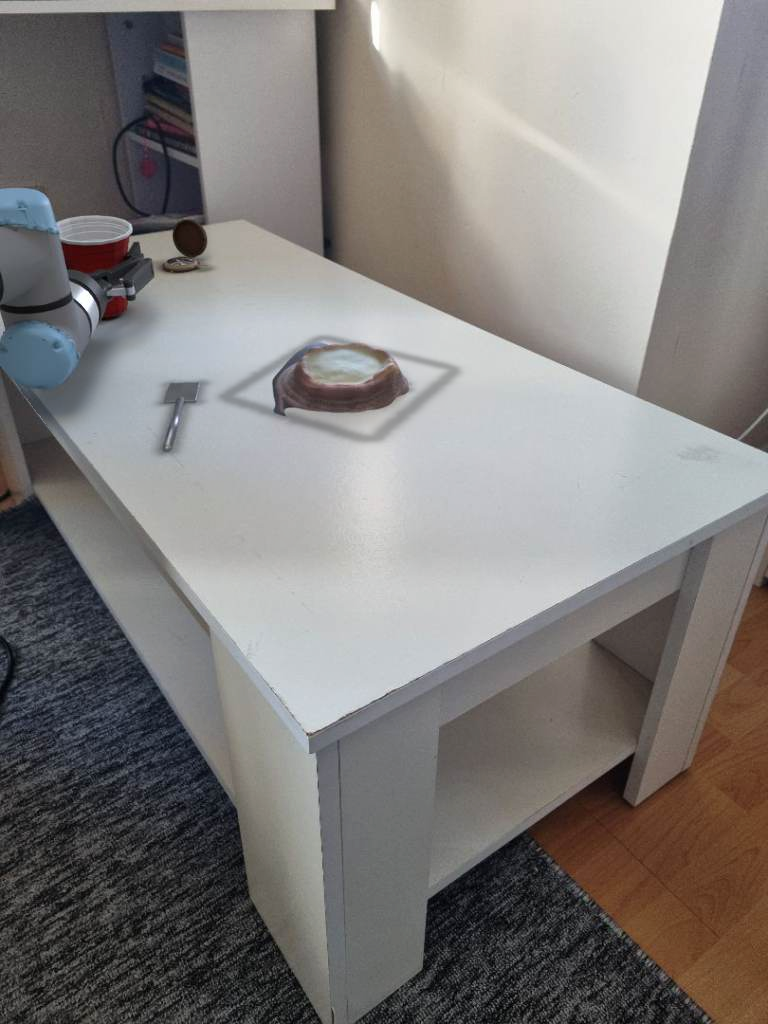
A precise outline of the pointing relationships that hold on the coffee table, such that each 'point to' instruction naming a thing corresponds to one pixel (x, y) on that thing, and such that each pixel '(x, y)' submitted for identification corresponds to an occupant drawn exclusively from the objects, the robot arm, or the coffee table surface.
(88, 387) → the coffee table surface
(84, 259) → the plastic cup
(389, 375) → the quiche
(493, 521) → the coffee table surface
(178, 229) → the compass
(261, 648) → the coffee table surface
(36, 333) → the robot arm
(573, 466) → the coffee table surface
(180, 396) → the metal spatula
